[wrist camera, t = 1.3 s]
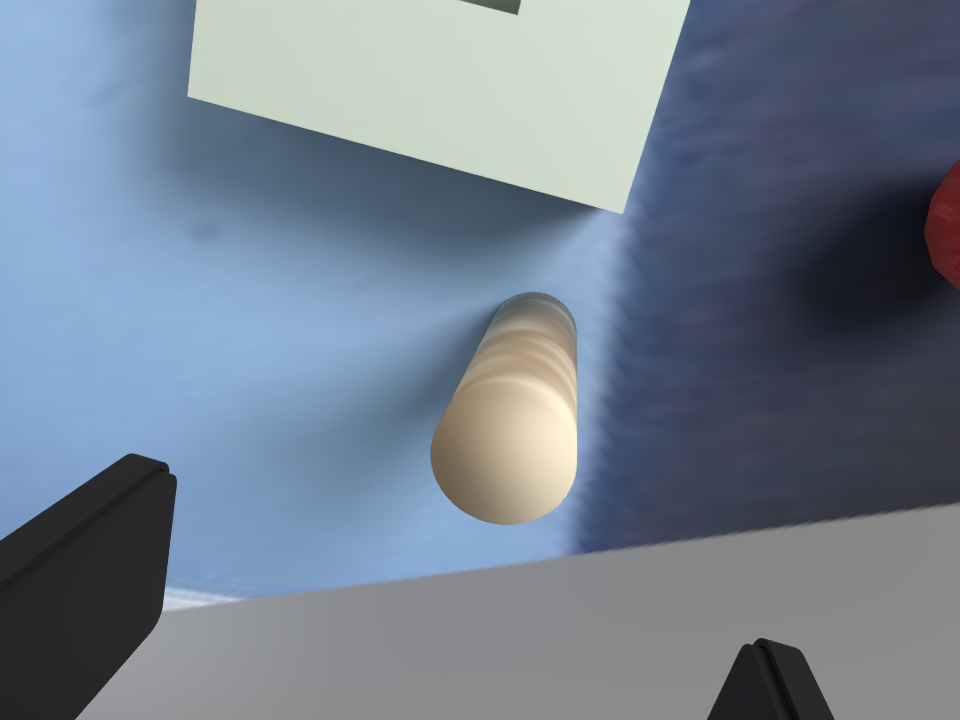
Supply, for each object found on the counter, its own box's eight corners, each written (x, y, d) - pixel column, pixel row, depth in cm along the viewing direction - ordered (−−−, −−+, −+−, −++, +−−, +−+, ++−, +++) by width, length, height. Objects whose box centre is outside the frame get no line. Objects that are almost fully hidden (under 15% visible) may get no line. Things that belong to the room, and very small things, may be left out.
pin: (587, 305, 27) (595, 415, 15) (562, 385, 28) (552, 541, 17) (502, 281, 27) (449, 372, 16) (480, 362, 28) (416, 501, 17)
